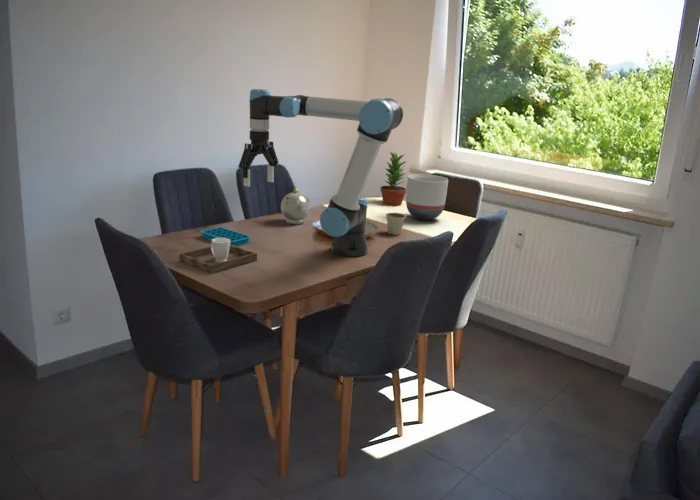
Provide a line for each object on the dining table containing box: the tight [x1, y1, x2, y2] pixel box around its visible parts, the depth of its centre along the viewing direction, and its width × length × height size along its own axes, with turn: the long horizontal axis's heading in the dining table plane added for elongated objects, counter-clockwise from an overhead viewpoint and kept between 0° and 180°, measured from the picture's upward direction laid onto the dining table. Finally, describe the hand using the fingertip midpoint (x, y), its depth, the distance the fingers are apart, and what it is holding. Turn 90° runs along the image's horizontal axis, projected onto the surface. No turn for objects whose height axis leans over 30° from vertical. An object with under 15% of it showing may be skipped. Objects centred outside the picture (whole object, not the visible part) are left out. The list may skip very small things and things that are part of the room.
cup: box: [210, 238, 231, 263], centre depth 223 cm, size 7×10×8 cm
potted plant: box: [380, 150, 407, 207], centre depth 332 cm, size 15×15×30 cm
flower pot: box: [385, 212, 407, 236], centre depth 276 cm, size 9×9×9 cm
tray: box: [178, 244, 258, 275], centre depth 223 cm, size 18×22×3 cm
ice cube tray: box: [200, 226, 252, 247], centre depth 250 cm, size 12×20×3 cm, turn 52°
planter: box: [405, 173, 449, 221], centre depth 304 cm, size 20×20×21 cm
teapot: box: [280, 188, 311, 226], centre depth 283 cm, size 18×14×16 cm
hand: (258, 183), depth 239 cm, fingers open, 13 cm apart
